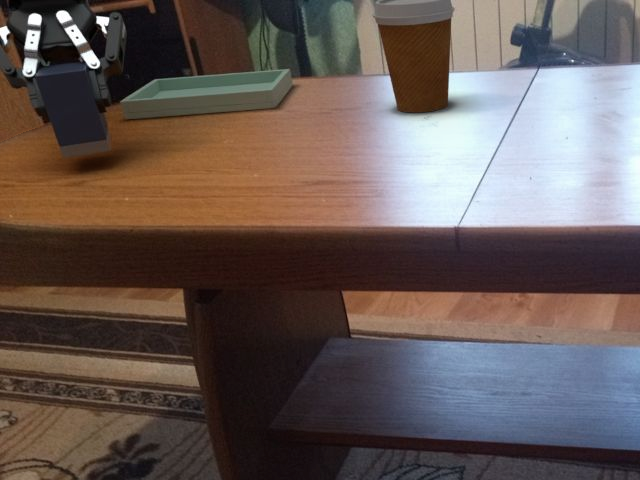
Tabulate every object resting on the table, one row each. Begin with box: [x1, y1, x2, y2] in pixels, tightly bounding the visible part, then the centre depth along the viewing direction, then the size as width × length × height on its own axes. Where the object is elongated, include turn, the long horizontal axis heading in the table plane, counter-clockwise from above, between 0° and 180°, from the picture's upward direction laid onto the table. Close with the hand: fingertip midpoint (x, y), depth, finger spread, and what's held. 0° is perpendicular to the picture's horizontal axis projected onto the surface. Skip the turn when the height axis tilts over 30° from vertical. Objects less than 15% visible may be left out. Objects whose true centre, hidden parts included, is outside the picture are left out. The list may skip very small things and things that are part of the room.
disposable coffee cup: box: [372, 0, 456, 113], centre depth 87 cm, size 10×10×12 cm
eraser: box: [35, 61, 112, 159], centre depth 75 cm, size 6×4×8 cm
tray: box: [119, 68, 294, 120], centre depth 100 cm, size 20×14×2 cm
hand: (73, 111), depth 74 cm, fingers closed on eraser, 4 cm apart
